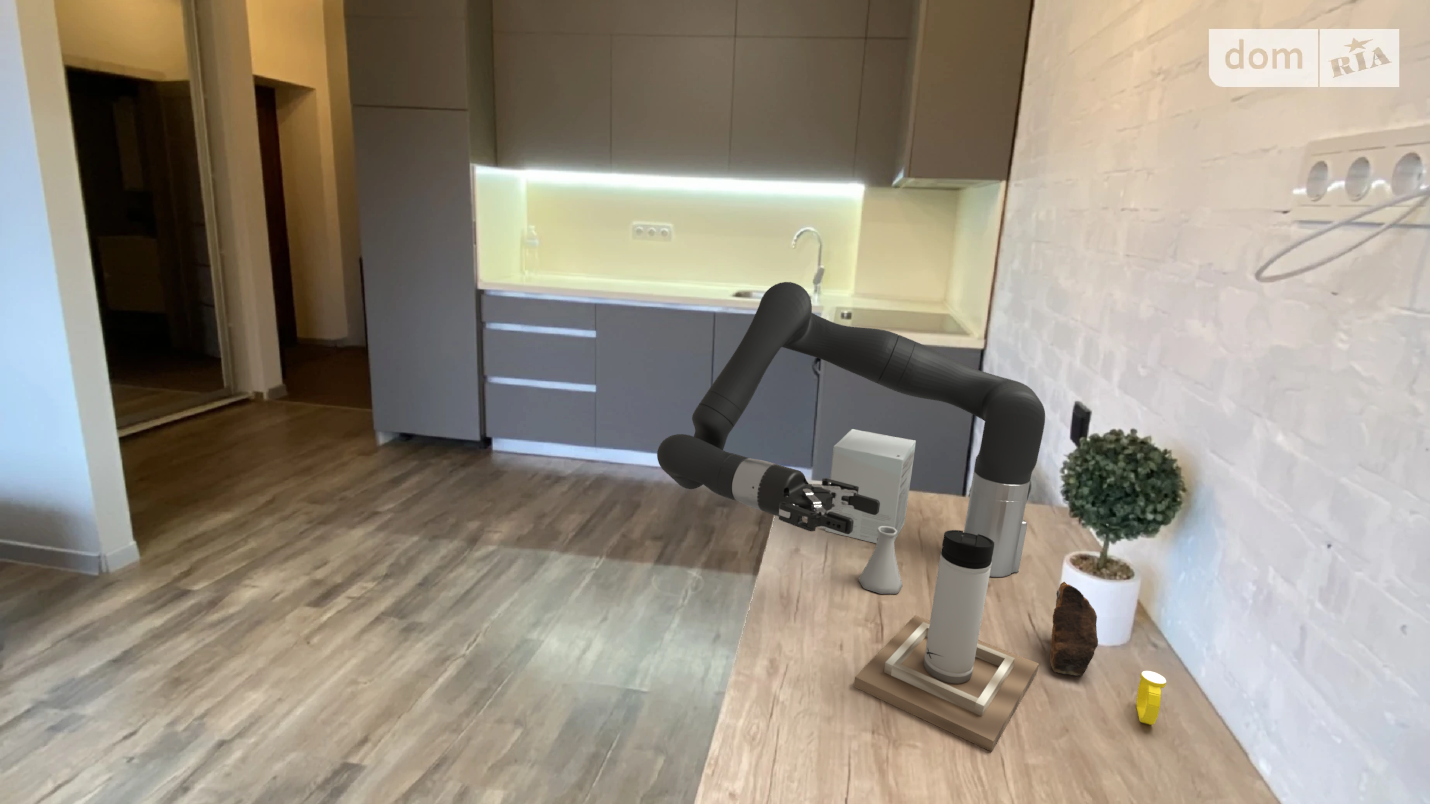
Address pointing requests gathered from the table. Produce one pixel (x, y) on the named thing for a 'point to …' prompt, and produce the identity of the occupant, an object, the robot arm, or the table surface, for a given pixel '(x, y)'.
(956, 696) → the wooden square tray
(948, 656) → the travel mug
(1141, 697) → the watch
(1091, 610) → the decorative rock
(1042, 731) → the table surface
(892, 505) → the supplement box
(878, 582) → the flask
